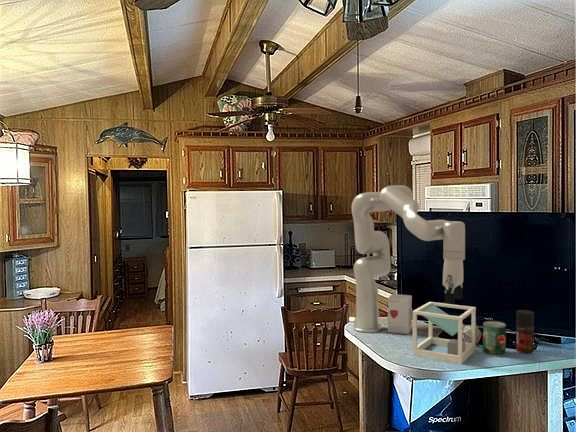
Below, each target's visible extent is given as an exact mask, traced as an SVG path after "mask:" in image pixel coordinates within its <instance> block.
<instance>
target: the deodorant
mask: <svg viewBox="0 0 576 432" xmlns="http://www.w3.org/2000/svg"><path fill="white" fill-rule="evenodd" d="M515 313H516V314H515V315H516V317H515V318H516V319H515V321H516V323H515V324H516V325H515V326H516V327H515V336H516V337H515V339H516V341H515V351H516V352H517V353H519V354H525V355H531V354H534V347H535V346H534V341H535V340H534V339H535V331H534V330H535V312H534V311H532V310H529V309H518V310H516V312H515Z"/></svg>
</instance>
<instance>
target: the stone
mask: <svg viewBox="0 0 576 432" xmlns="http://www.w3.org/2000/svg"><path fill="white" fill-rule="evenodd" d="M449 340H450V341H449V342H447V346H446V348H447V349H446V350H447V354H452V355H458V339H454V338H452V339H449ZM463 351H465V341H464V340H462V352H463Z"/></svg>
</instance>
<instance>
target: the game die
mask: <svg viewBox="0 0 576 432" xmlns="http://www.w3.org/2000/svg"><path fill="white" fill-rule="evenodd" d="M463 325H464V328H462V340H463V341H465V342H467V343H471V324H465V323H463ZM482 337H483V332H481V330H480V329H479V327H478V323H476V344H477V345H478V346H480V343H479V342H480V340H481V338H482Z"/></svg>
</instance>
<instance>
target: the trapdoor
mask: <svg viewBox="0 0 576 432" xmlns="http://www.w3.org/2000/svg"><path fill="white" fill-rule="evenodd" d="M421 312H428V313H436V314H443V315H449V314H448V313H446V312H445V311H443V310H442V309H441V308H439V306H435V305H434V304H431V305H430V306H428V307H426V308H424V309H423V310H421ZM421 316H422V317H424V318H425V319H427V320H428V322H429V321H431V322H432V323H433V325H436V326H437V327H439V328H440V329H441V331H442V330H443V331H444V332H446V333H447V334H448V335H450V336H451V337H453V336H455V335H456V334H458V320H453V319H446V318H439V317H431V316H424V315H421ZM464 326H465V325H464V323H462V329H463V328H464Z"/></svg>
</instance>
